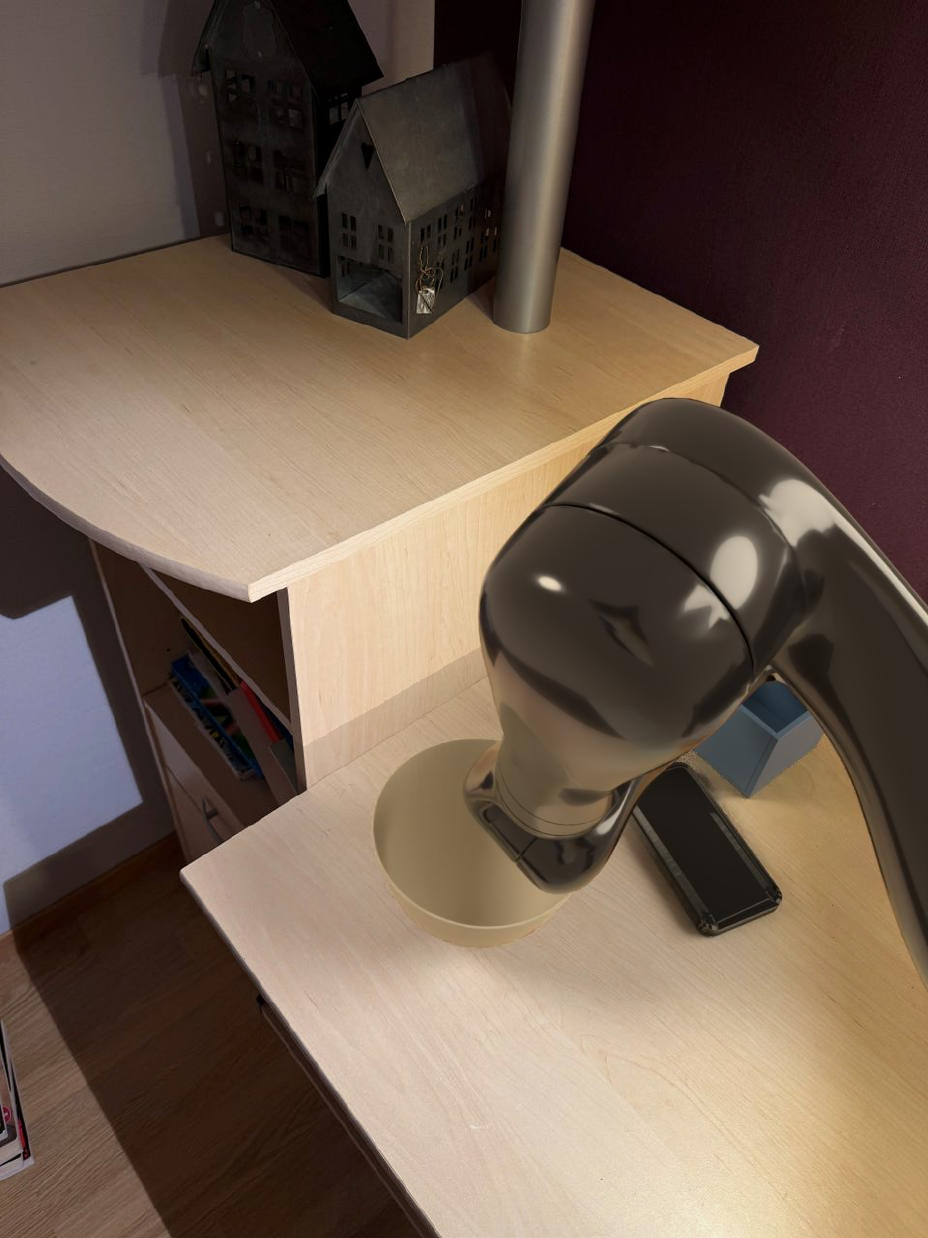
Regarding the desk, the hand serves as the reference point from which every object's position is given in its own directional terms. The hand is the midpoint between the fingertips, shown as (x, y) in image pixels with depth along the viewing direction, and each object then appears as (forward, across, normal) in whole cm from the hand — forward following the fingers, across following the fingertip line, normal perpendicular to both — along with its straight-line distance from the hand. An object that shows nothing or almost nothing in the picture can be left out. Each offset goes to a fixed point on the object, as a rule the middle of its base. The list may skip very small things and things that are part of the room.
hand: (798, 587), depth 77 cm
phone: (-16, -5, +17) cm, 24 cm away
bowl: (-33, +4, +17) cm, 37 cm away
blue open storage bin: (-2, 0, +17) cm, 17 cm away
